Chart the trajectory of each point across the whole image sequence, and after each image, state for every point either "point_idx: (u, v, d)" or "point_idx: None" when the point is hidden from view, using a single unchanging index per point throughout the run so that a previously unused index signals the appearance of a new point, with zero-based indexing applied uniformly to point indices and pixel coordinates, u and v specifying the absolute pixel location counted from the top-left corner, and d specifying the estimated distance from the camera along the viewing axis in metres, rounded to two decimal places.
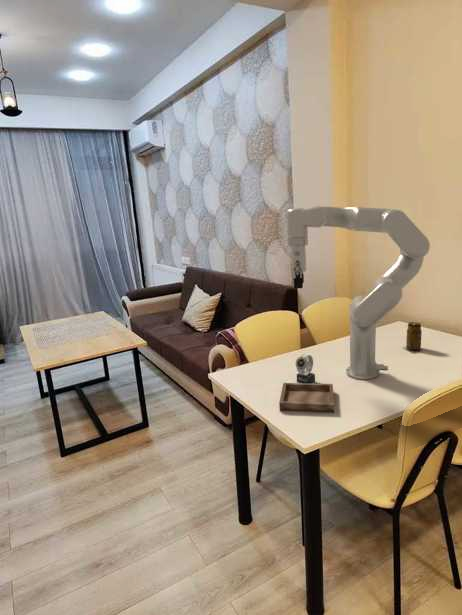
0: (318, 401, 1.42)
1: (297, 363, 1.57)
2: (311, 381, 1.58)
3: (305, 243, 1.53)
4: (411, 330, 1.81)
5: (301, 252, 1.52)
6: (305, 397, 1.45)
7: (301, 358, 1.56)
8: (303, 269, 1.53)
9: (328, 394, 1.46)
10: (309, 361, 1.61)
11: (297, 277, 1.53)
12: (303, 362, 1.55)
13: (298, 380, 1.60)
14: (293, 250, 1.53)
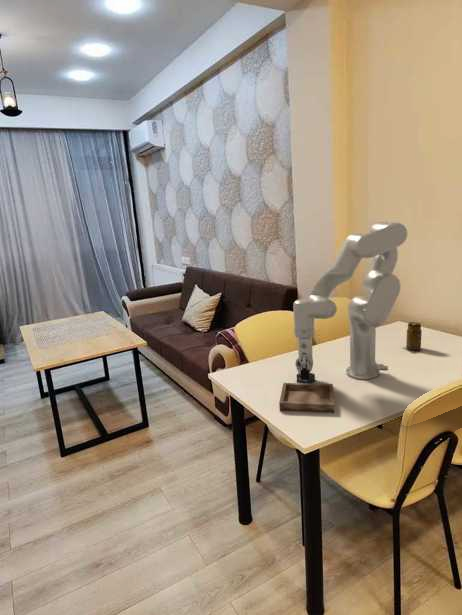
0: (318, 401, 1.42)
1: (297, 363, 1.57)
2: (311, 381, 1.58)
3: (312, 335, 1.52)
4: (411, 330, 1.81)
5: (308, 344, 1.51)
6: (305, 397, 1.45)
7: None
8: (310, 361, 1.52)
9: (328, 394, 1.46)
10: None
11: (304, 369, 1.53)
12: None
13: (298, 380, 1.60)
14: (300, 342, 1.52)
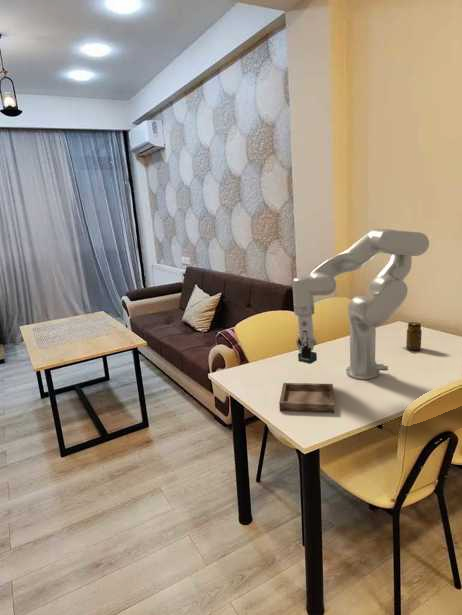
0: (318, 401, 1.42)
1: (298, 342, 1.55)
2: (313, 360, 1.56)
3: (312, 312, 1.50)
4: (411, 330, 1.81)
5: (308, 322, 1.49)
6: (305, 397, 1.45)
7: None
8: (311, 339, 1.50)
9: (328, 394, 1.46)
10: (310, 340, 1.59)
11: (305, 348, 1.51)
12: None
13: (300, 359, 1.58)
14: (300, 320, 1.50)
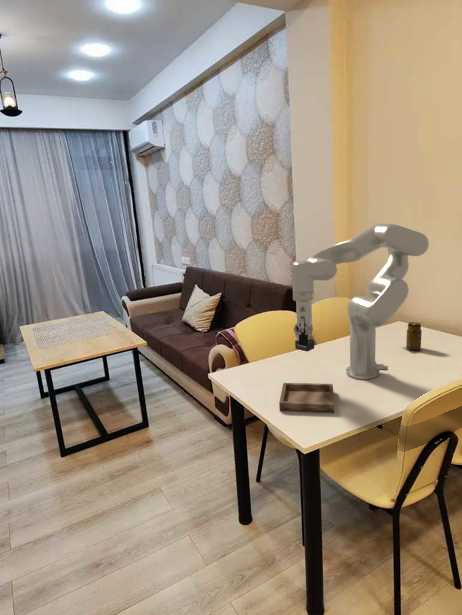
0: (318, 401, 1.42)
1: (295, 328, 1.50)
2: (310, 348, 1.51)
3: (311, 298, 1.46)
4: (411, 330, 1.81)
5: (306, 308, 1.44)
6: (305, 397, 1.45)
7: None
8: (308, 325, 1.46)
9: (328, 394, 1.46)
10: (308, 327, 1.54)
11: (302, 334, 1.46)
12: None
13: (296, 347, 1.53)
14: (298, 305, 1.45)
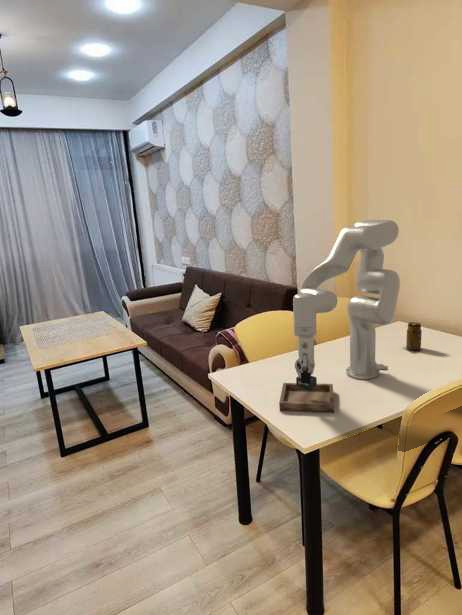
0: (318, 401, 1.42)
1: (297, 365, 1.40)
2: (312, 385, 1.41)
3: (314, 333, 1.36)
4: (411, 330, 1.81)
5: (309, 344, 1.34)
6: (305, 397, 1.45)
7: None
8: (311, 362, 1.35)
9: (328, 394, 1.46)
10: None
11: (304, 372, 1.36)
12: None
13: (298, 384, 1.43)
14: (300, 341, 1.35)
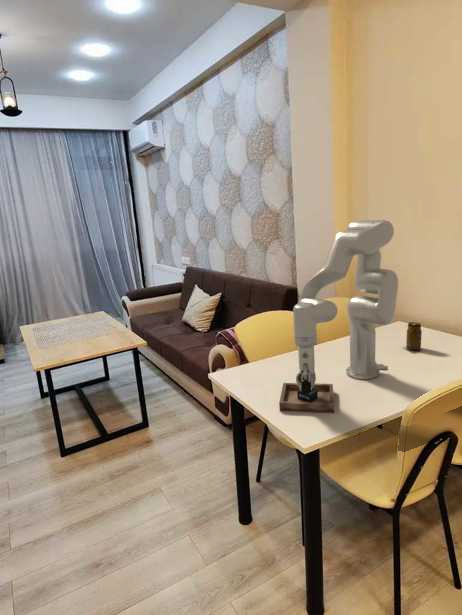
0: (318, 401, 1.42)
1: (298, 378, 1.41)
2: (313, 398, 1.42)
3: (314, 343, 1.36)
4: (411, 330, 1.81)
5: (309, 354, 1.35)
6: None
7: None
8: (312, 372, 1.36)
9: (328, 394, 1.46)
10: (311, 376, 1.45)
11: (305, 381, 1.36)
12: None
13: (299, 397, 1.44)
14: (300, 351, 1.36)
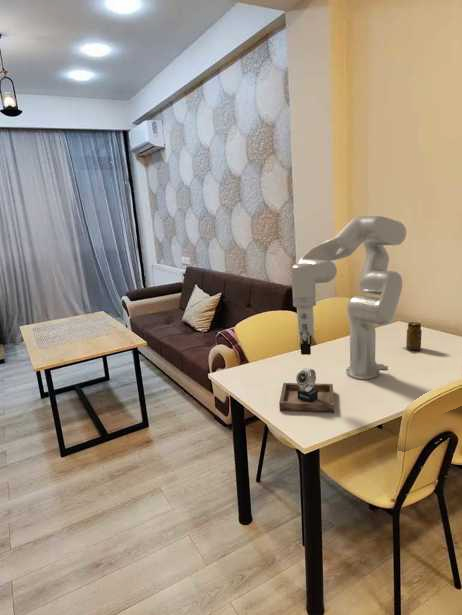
0: (318, 401, 1.42)
1: (298, 378, 1.41)
2: (313, 398, 1.42)
3: (313, 304, 1.33)
4: (411, 330, 1.81)
5: (309, 315, 1.32)
6: None
7: (302, 372, 1.41)
8: (311, 333, 1.33)
9: (328, 394, 1.46)
10: (311, 376, 1.45)
11: (304, 343, 1.33)
12: (305, 377, 1.40)
13: (299, 397, 1.44)
14: (299, 312, 1.33)
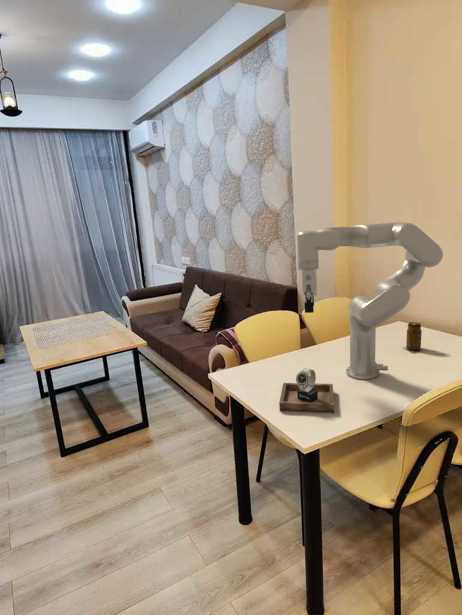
0: (318, 401, 1.42)
1: (298, 378, 1.41)
2: (313, 398, 1.42)
3: (316, 267, 1.50)
4: (411, 330, 1.81)
5: (312, 276, 1.48)
6: None
7: (302, 373, 1.40)
8: (314, 293, 1.50)
9: (328, 394, 1.46)
10: (311, 376, 1.45)
11: (308, 301, 1.49)
12: (304, 377, 1.39)
13: (299, 397, 1.44)
14: (304, 274, 1.49)
